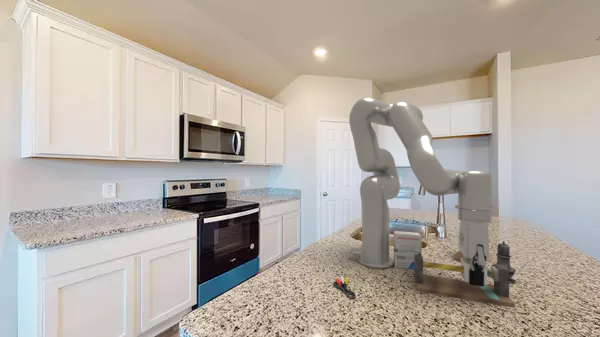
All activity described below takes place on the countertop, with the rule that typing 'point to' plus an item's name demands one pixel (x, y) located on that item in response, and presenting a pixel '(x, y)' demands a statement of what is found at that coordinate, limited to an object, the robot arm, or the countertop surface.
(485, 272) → the sleeve
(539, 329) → the countertop surface
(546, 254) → the countertop surface
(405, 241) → the ink box
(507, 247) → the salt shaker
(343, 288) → the composite cable
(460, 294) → the cord board
